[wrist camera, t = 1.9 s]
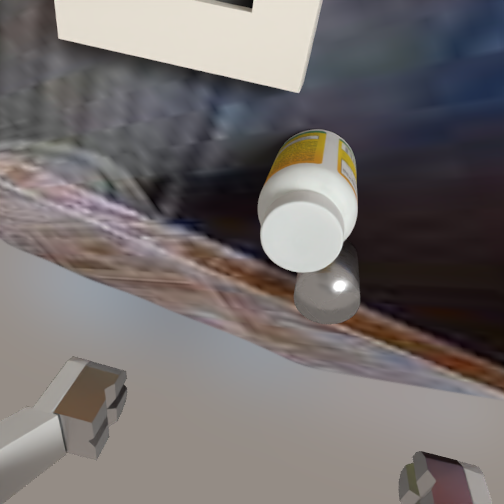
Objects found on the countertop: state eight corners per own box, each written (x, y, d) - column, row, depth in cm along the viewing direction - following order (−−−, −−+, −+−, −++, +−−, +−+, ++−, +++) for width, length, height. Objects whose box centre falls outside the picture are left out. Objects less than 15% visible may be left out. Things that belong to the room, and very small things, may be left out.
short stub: (365, 242, 29) (369, 283, 25) (347, 286, 31) (348, 330, 27) (308, 228, 29) (302, 266, 25) (294, 273, 31) (287, 314, 27)
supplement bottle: (371, 148, 25) (383, 220, 17) (330, 214, 28) (325, 300, 20) (295, 112, 24) (273, 168, 17) (263, 182, 28) (231, 257, 20)
